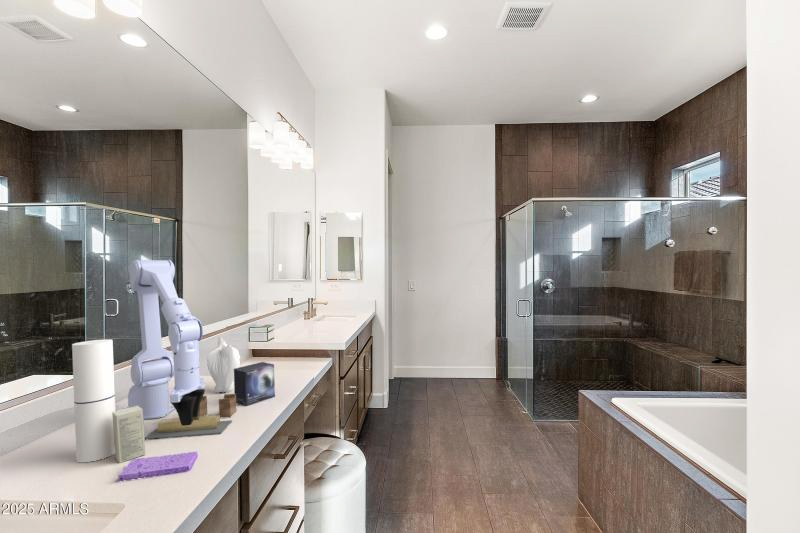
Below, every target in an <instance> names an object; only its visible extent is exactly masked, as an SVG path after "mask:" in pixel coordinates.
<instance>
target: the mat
mask: <svg viewBox="0 0 800 533" xmlns="http://www.w3.org/2000/svg"><path fill="white" fill-rule="evenodd" d="M232 422H233V420H220V425H219V426H218V427H217V428H214V429H201V430H188V431H175V432H162V433H158V427H157V428H156V429H154V430H153V431H151V432H150V433H149V434H147V435H146V436H144V438H145V441H146V439H150V440H156V439H155V438H162V439H168V438H167V437H175V438H183V437H182V436H188V437H201V436H211V435H212V436H213V435H221V434H222V433H224V431H225V430H226V429H227V428H228V427H229V426H230V425H231V424H232ZM229 424H230V425H229ZM228 425H229V426H228ZM227 426H228V427H227Z"/></svg>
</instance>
